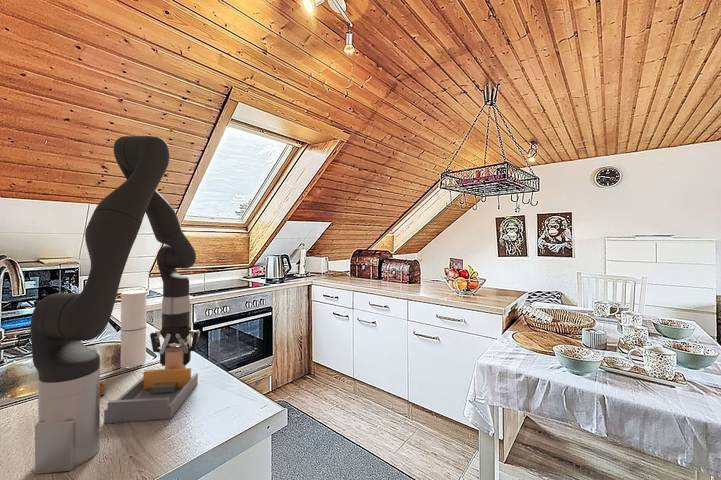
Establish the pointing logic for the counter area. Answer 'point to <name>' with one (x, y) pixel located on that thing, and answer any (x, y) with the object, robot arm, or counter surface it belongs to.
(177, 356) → the jar
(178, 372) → the pusher
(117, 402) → the lane
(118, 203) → the robot arm
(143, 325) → the cylindrical container
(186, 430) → the counter surface
